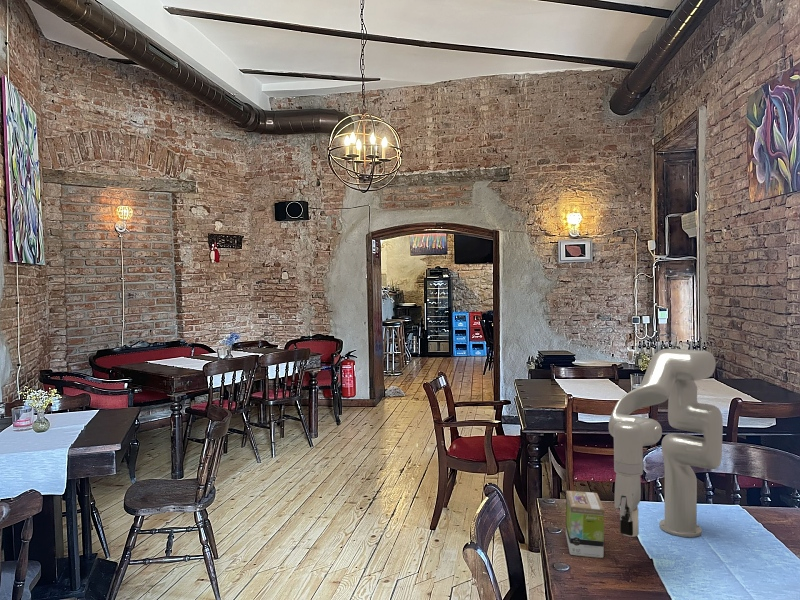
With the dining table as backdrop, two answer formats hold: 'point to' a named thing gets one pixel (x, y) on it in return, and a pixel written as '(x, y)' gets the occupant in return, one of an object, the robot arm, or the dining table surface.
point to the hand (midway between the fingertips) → (629, 529)
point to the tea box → (584, 524)
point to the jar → (634, 522)
